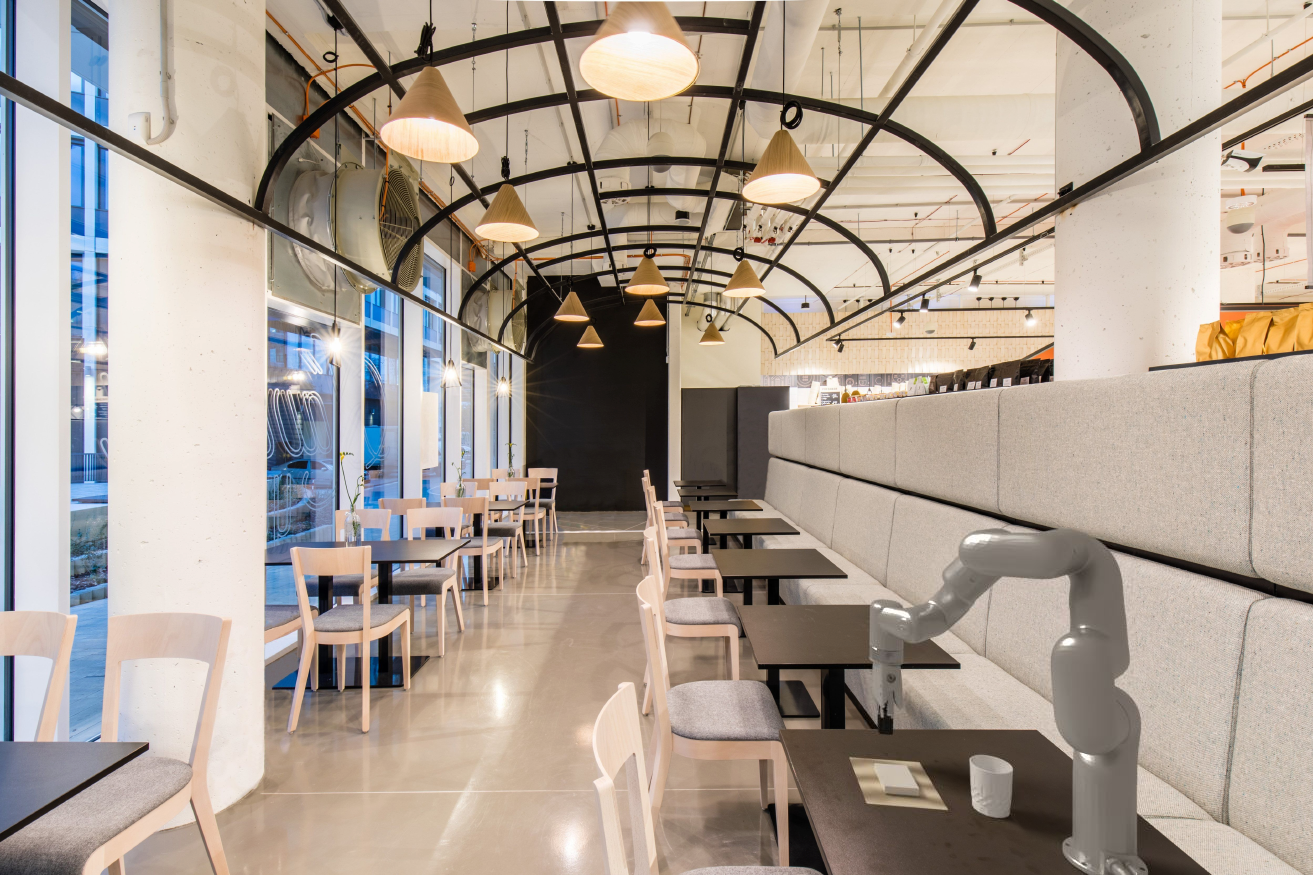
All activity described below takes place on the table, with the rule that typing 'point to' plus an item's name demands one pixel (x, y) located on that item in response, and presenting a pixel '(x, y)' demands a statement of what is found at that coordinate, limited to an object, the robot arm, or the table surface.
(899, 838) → the table surface
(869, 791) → the board
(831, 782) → the table surface
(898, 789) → the tile
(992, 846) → the table surface
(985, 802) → the white cup
